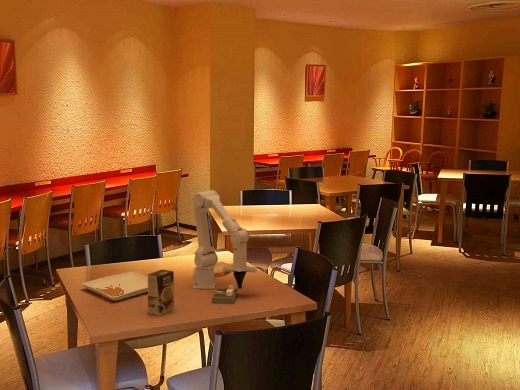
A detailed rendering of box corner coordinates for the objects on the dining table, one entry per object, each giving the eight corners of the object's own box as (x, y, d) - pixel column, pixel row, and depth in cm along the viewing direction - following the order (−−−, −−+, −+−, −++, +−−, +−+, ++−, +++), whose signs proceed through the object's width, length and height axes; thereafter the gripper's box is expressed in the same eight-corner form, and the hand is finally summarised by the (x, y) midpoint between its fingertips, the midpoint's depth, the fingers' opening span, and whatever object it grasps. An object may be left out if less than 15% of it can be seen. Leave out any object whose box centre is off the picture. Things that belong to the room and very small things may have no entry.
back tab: (228, 290, 256) (228, 286, 255) (229, 288, 259) (229, 284, 258) (234, 291, 256) (234, 286, 255) (235, 288, 258) (235, 284, 258)
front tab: (226, 296, 249) (226, 291, 249) (227, 293, 252) (227, 289, 252) (232, 296, 249) (231, 291, 248) (232, 294, 252) (232, 289, 251)
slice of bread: (214, 278, 284) (214, 271, 283) (199, 269, 300) (199, 262, 299) (247, 273, 293) (247, 266, 292) (231, 265, 308) (231, 258, 308)
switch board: (211, 303, 248) (211, 297, 248) (217, 293, 261) (217, 287, 261) (233, 303, 248) (233, 297, 247) (237, 293, 260) (237, 288, 260)
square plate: (80, 290, 266) (80, 282, 265) (132, 278, 285) (132, 270, 285) (112, 305, 247) (112, 296, 247) (166, 290, 266) (166, 282, 266)
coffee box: (160, 316, 233) (159, 276, 231) (147, 313, 237) (146, 274, 234) (175, 309, 241) (174, 271, 238) (163, 306, 244) (162, 268, 242)
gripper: (221, 259, 251) (222, 290, 253) (255, 260, 250) (255, 291, 252) (224, 255, 258) (224, 285, 260) (257, 256, 257) (257, 286, 259)
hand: (240, 288), depth 257 cm, fingers closed
